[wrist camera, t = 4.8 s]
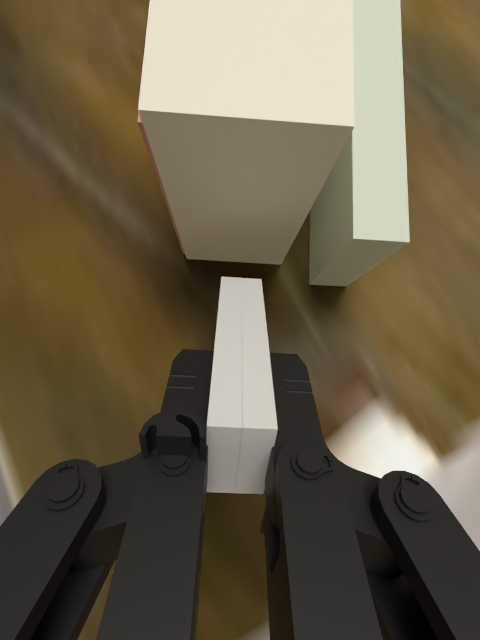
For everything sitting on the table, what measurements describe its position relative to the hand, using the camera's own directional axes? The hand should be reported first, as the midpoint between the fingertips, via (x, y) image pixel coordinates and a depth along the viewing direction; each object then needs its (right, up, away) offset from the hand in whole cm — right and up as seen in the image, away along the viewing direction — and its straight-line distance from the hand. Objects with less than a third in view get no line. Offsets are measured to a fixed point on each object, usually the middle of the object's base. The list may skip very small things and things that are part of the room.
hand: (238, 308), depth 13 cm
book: (0, +9, +6) cm, 11 cm away
